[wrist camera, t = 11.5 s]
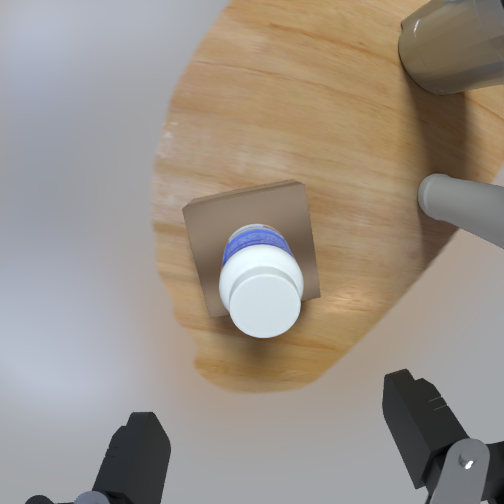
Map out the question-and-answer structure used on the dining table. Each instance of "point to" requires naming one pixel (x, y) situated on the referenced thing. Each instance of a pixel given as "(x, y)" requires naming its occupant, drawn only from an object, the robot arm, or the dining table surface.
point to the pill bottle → (260, 281)
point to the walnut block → (245, 213)
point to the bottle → (465, 205)
